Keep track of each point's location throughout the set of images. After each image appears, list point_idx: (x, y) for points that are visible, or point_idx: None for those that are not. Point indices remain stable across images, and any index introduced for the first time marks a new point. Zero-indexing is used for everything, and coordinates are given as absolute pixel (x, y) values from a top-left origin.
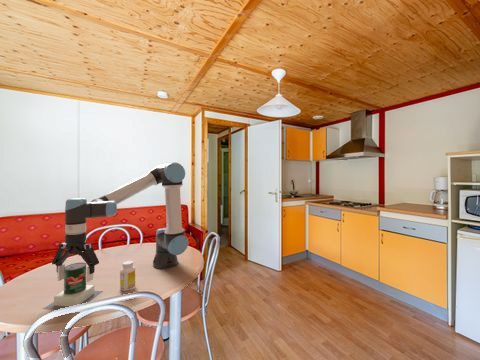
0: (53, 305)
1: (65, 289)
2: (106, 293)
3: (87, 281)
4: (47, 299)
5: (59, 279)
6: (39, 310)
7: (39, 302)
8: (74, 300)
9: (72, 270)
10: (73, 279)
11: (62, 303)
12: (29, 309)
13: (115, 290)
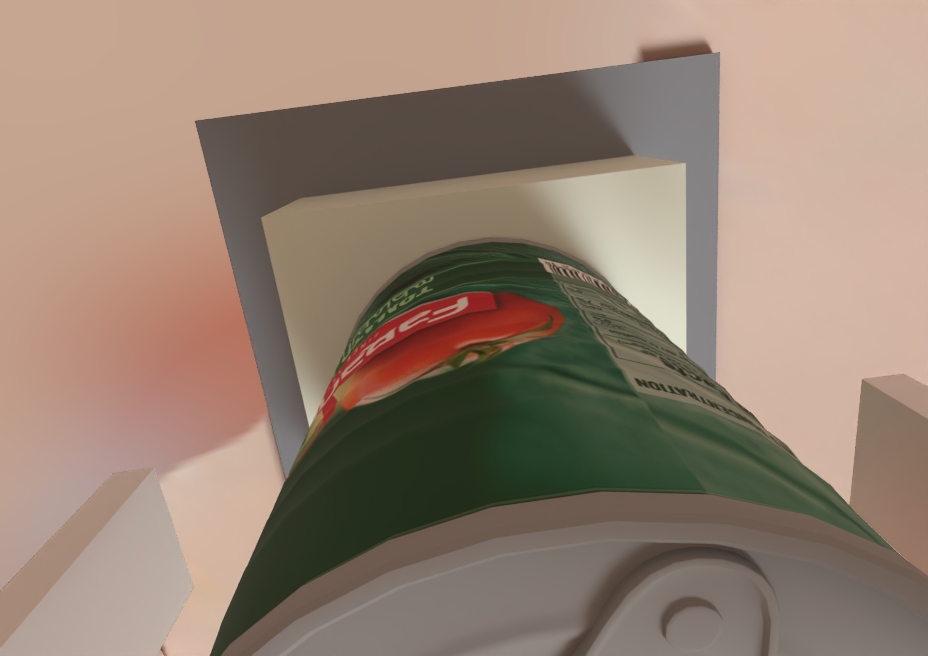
0: (641, 154)
1: (542, 261)
2: (236, 530)
3: (124, 479)
4: (873, 270)
5: (884, 400)
6: (743, 33)
7: (919, 191)
8: (307, 205)
9: (326, 564)
10: (361, 383)
11: (508, 173)
12: (907, 23)
13: (191, 601)
